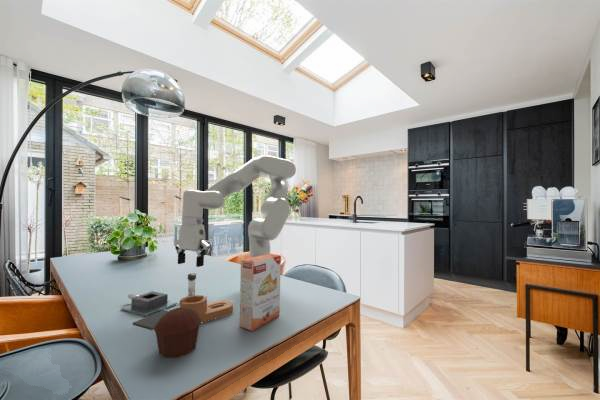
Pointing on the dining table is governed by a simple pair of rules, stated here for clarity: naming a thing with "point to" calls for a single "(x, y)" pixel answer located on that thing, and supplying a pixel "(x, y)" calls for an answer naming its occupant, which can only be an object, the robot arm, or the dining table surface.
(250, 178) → the robot arm
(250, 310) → the cracker box
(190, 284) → the small bottle
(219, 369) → the dining table surface
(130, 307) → the chuck block
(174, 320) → the muffin
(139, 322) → the rubber mat
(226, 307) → the bracket
